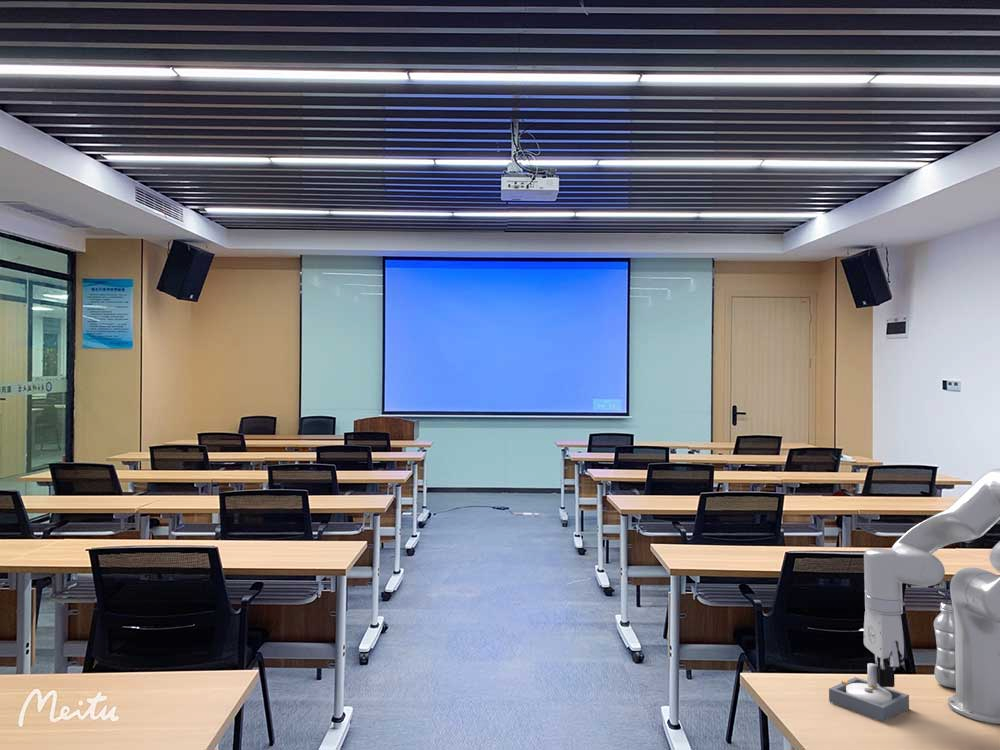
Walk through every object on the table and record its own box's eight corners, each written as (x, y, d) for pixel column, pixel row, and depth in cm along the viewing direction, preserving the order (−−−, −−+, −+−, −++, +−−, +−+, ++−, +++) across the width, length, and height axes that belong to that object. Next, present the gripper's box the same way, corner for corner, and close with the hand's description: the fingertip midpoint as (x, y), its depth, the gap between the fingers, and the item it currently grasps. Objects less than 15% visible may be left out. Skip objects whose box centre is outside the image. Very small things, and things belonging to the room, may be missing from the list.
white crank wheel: (886, 712, 148) (886, 680, 148) (841, 699, 154) (840, 669, 154) (896, 699, 154) (895, 668, 155) (852, 687, 161) (852, 658, 161)
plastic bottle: (972, 693, 162) (971, 608, 162) (941, 690, 163) (939, 606, 164) (959, 682, 168) (958, 601, 169) (929, 679, 169) (928, 599, 170)
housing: (855, 689, 162) (855, 675, 163) (909, 708, 153) (908, 692, 153) (829, 701, 155) (829, 686, 156) (883, 722, 146) (883, 705, 146)
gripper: (852, 594, 162) (854, 672, 162) (881, 613, 148) (883, 699, 147) (885, 595, 162) (887, 673, 161) (917, 614, 147) (920, 700, 146)
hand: (885, 685), depth 154 cm, fingers closed
